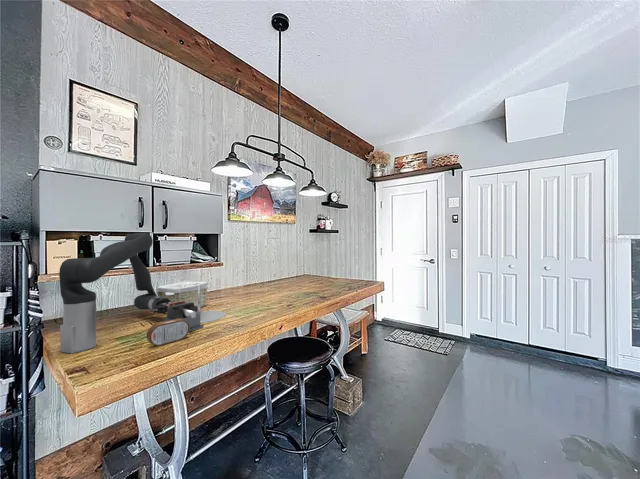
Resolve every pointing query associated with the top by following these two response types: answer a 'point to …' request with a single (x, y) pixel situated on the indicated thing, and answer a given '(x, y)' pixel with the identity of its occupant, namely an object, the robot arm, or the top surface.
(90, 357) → the top surface
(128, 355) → the top surface
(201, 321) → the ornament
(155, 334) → the tin
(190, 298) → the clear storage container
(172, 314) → the block
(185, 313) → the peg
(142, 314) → the top surface
